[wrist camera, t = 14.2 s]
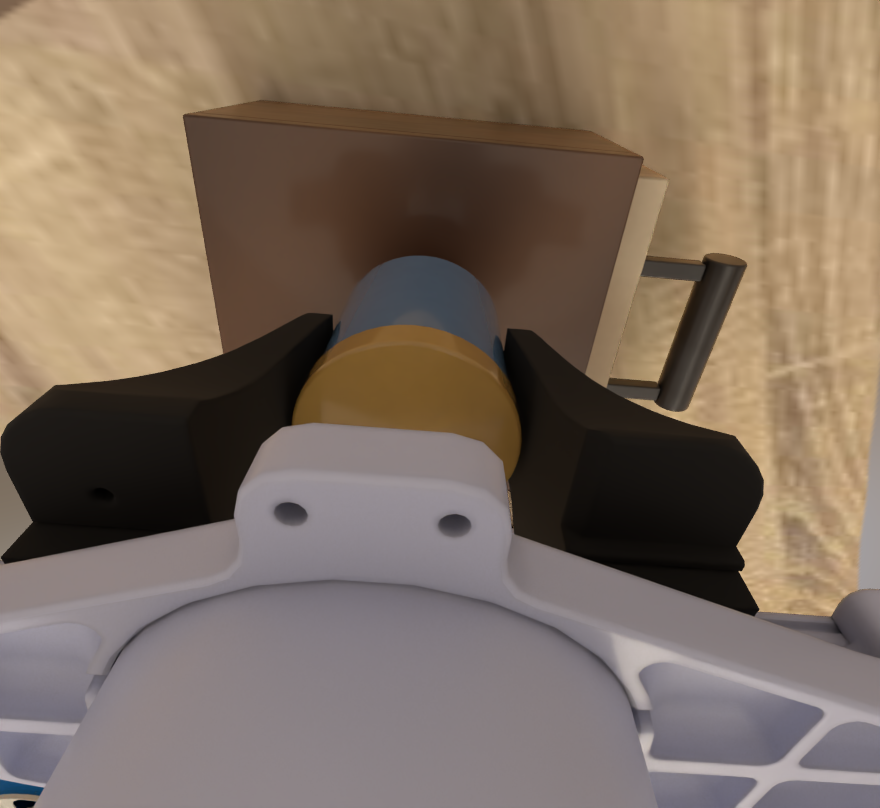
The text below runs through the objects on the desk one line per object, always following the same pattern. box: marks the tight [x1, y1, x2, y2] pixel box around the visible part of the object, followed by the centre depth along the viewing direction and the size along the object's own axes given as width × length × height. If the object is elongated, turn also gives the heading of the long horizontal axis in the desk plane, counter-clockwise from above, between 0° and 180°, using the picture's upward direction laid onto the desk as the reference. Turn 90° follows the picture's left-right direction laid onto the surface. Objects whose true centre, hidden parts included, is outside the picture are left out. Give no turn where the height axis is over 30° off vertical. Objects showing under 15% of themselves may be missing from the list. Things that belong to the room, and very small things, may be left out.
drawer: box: [585, 165, 747, 412], centre depth 20 cm, size 16×11×5 cm
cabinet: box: [183, 100, 644, 491], centre depth 20 cm, size 12×12×6 cm
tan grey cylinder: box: [291, 256, 522, 483], centre depth 12 cm, size 5×5×5 cm
